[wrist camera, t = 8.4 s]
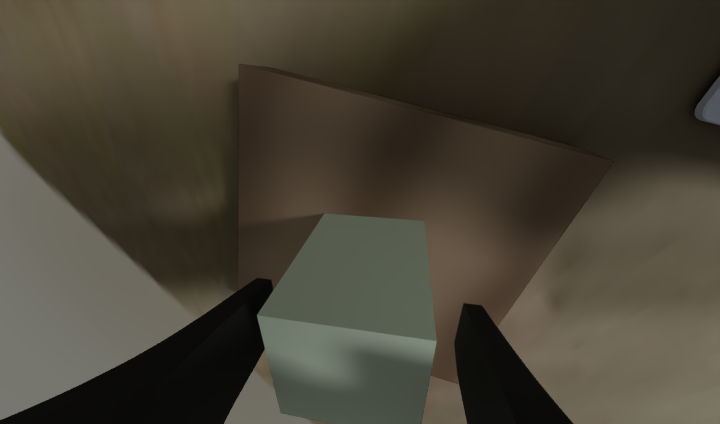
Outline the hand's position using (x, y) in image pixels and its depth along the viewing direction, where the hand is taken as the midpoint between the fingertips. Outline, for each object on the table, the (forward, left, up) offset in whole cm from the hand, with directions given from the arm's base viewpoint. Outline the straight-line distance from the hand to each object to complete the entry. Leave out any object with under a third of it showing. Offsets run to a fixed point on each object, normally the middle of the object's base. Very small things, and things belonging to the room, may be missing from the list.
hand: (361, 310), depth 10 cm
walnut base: (0, 0, -6) cm, 6 cm away
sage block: (0, 0, -3) cm, 3 cm away
